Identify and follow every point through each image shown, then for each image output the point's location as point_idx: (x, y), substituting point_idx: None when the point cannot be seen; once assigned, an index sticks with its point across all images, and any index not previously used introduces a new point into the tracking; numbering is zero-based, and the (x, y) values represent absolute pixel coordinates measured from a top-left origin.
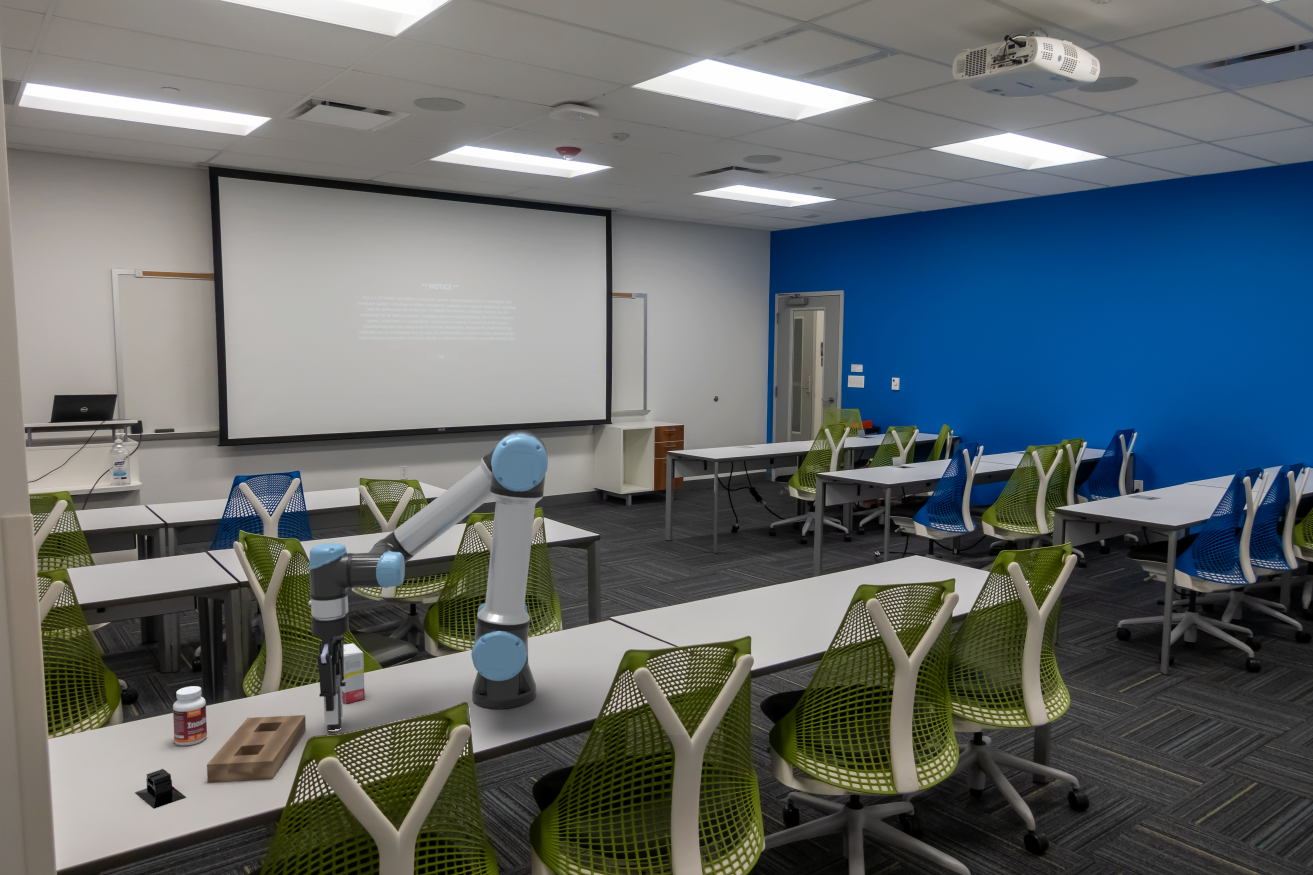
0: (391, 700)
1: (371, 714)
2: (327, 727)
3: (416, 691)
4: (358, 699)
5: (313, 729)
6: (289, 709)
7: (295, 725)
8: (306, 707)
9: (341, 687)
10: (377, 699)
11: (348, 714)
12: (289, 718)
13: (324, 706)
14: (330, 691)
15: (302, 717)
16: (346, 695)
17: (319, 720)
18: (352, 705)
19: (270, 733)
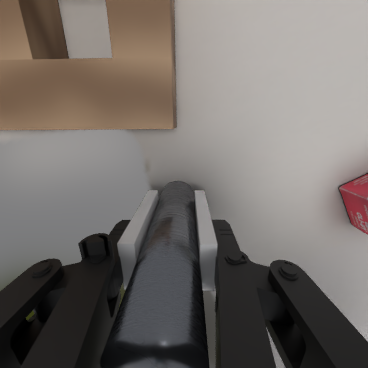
0: (318, 276)
1: (248, 253)
2: (167, 186)
3: (352, 310)
4: (350, 214)
5: (181, 146)
6: (363, 13)
7: (84, 121)
8: (357, 75)
9: (213, 289)
10: (337, 250)
11: (261, 207)
12: (146, 76)
13: (133, 217)
14: (27, 325)
15: (152, 125)
16: (359, 198)
17: (239, 146)
18: (320, 204)
19: (7, 45)
